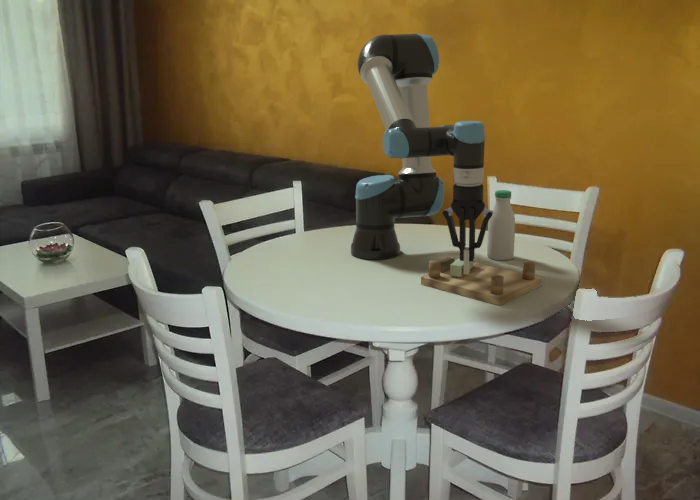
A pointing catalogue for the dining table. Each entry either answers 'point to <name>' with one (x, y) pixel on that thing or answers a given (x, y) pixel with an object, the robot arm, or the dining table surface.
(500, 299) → the stool board
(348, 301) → the dining table surface
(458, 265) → the rail
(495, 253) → the milk bottle
